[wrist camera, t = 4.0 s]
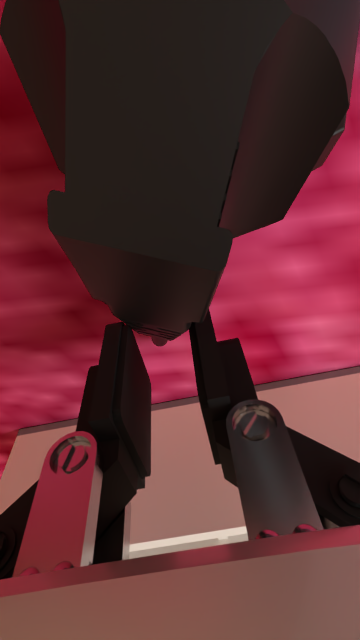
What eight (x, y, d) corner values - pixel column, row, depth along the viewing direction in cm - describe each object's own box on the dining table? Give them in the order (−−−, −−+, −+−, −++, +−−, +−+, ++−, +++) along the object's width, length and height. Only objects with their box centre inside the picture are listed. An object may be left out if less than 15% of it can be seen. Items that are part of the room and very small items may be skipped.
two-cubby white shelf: (19, 429, 18) (-34, 570, 13) (368, 364, 17) (462, 491, 12) (96, 528, 25) (82, 644, 20) (347, 487, 23) (399, 600, 18)
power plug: (89, 341, 14) (-232, 32, 3) (136, 190, 16) (64, -351, 5) (221, 372, 14) (464, 184, 3) (252, 216, 16) (464, -277, 5)
